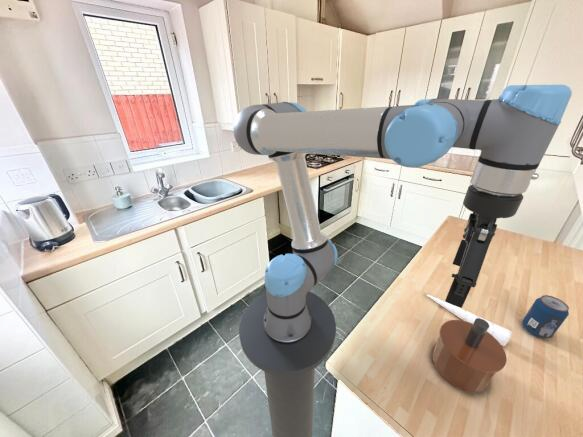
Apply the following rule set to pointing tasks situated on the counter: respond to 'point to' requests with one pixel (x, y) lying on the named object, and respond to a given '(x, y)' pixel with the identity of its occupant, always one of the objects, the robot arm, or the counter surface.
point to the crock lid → (473, 345)
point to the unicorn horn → (495, 330)
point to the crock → (459, 371)
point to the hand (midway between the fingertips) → (456, 282)
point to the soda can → (545, 316)
